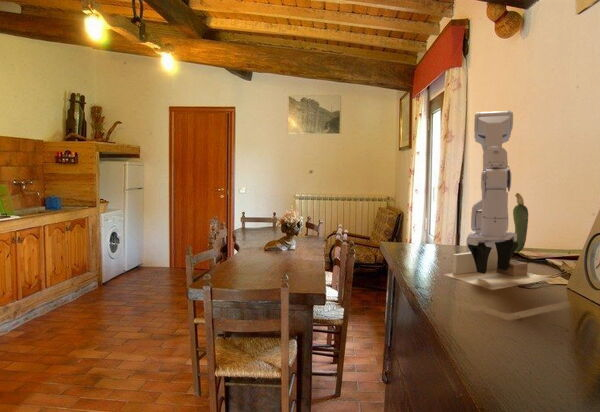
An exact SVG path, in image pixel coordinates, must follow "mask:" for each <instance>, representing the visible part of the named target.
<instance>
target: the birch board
mask: <svg viewBox="0 0 600 412" xmlns="http://www.w3.org/2000/svg"><path fill="white" fill-rule="evenodd" d="M443 276H447V277H449V278H453V279H456V280H459V281H463V282H465V283H468V284H472V285H475V286H478V287H480V288H481V287H482V288H484V289H488V290H490V291H495V290H500V289H505V288H511V287H515V286H522V285H526V284H527V285H528V284H533V283H537V282H538V283H539V282H545V281H550V280H553V278H552V277H547V276H542V275H539V274H534V273H531V272H527V275H522V276H516V277H512V276H508V275H505V274H501V273H497V268H495V269H489V270H486V274H482V273H478V272H477V271H475V272H469V273H462V274H453V272H450V273H444V274H443Z"/></svg>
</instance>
